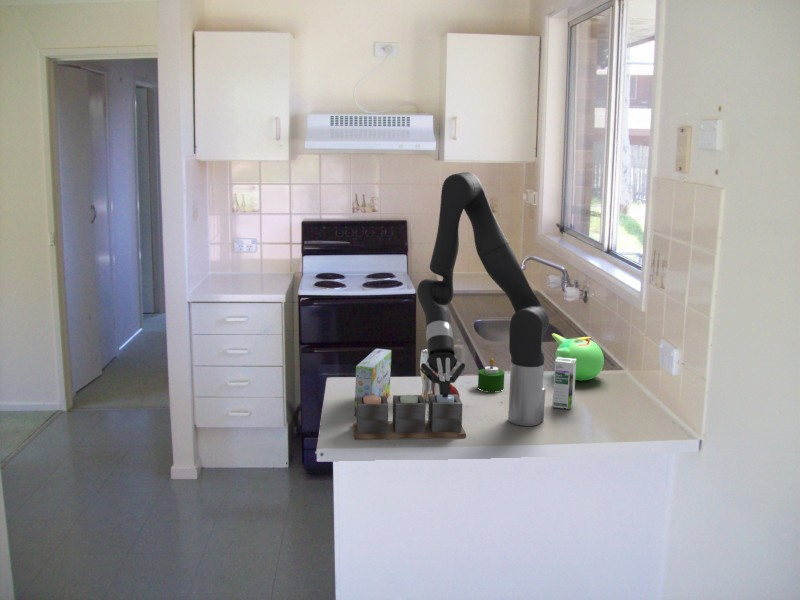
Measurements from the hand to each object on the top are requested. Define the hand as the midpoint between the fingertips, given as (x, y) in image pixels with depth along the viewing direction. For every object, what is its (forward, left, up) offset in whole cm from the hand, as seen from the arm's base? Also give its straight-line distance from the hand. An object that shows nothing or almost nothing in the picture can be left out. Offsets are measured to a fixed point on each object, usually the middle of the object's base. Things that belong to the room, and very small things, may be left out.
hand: (445, 395), depth 229 cm
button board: (+9, -5, -10) cm, 14 cm away
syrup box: (-44, -1, -10) cm, 45 cm away
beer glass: (-12, -25, -10) cm, 29 cm away
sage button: (+9, -5, -5) cm, 11 cm away
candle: (-35, -25, -10) cm, 44 cm away
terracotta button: (+18, -9, -5) cm, 21 cm away
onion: (-12, -15, -10) cm, 22 cm away
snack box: (+7, -28, -11) cm, 31 cm away
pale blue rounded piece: (0, 0, -5) cm, 5 cm away
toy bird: (-67, -20, -10) cm, 70 cm away
